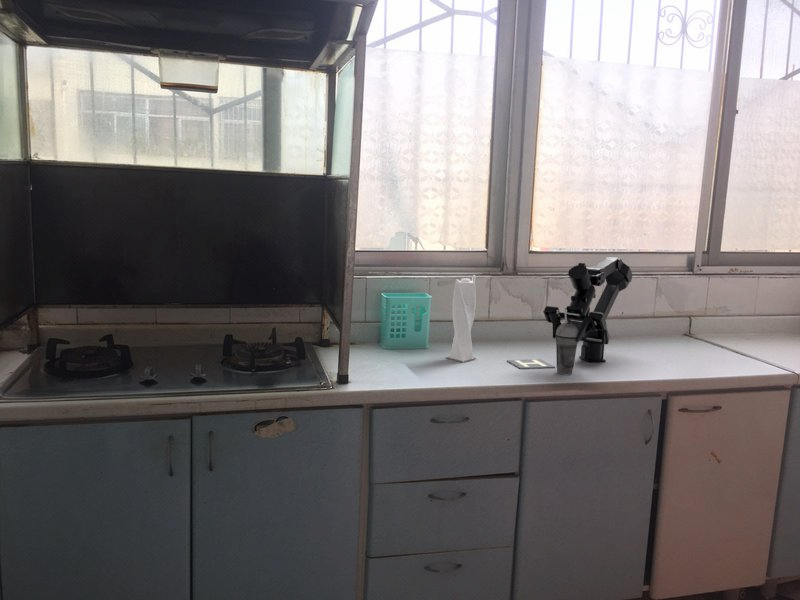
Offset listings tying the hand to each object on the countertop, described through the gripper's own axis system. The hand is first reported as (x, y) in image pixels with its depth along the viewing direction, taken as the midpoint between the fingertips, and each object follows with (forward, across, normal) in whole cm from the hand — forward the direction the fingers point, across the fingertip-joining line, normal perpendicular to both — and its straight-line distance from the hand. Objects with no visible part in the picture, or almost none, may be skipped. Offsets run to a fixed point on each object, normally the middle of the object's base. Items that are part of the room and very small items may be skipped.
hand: (565, 339), depth 208 cm
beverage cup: (+7, 0, -9) cm, 11 cm away
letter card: (+5, +12, -10) cm, 17 cm away
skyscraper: (+12, +32, -3) cm, 34 cm away
